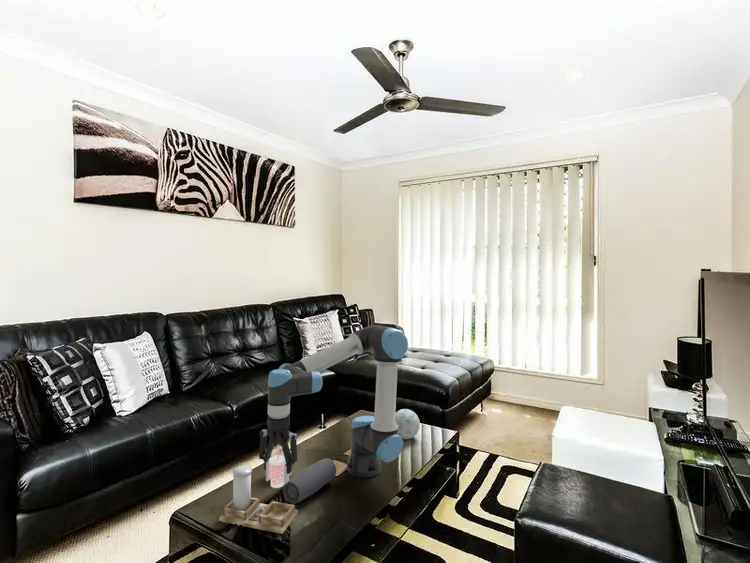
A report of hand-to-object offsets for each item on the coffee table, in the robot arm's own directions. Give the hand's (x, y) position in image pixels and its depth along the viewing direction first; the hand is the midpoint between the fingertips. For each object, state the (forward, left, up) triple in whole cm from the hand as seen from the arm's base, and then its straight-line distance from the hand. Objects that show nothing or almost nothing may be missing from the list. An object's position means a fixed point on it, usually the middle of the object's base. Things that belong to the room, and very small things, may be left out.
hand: (277, 480), depth 143 cm
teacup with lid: (+13, -31, -14) cm, 37 cm away
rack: (+7, 0, -14) cm, 16 cm away
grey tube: (+14, 0, -13) cm, 19 cm away
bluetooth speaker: (-4, -20, -15) cm, 25 cm away
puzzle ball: (-31, -83, -14) cm, 90 cm away
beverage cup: (0, 0, -2) cm, 2 cm away
